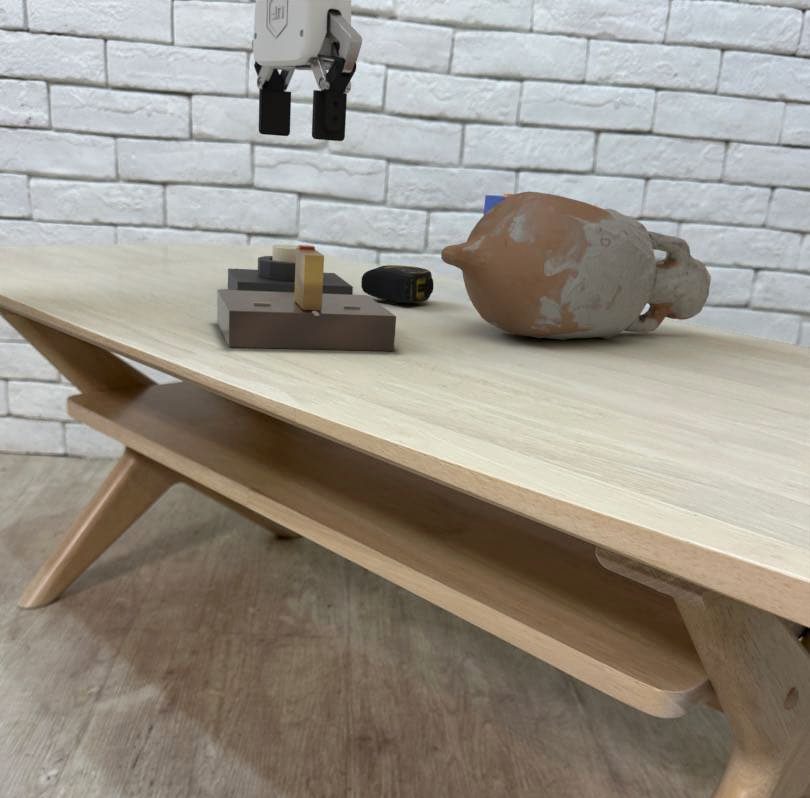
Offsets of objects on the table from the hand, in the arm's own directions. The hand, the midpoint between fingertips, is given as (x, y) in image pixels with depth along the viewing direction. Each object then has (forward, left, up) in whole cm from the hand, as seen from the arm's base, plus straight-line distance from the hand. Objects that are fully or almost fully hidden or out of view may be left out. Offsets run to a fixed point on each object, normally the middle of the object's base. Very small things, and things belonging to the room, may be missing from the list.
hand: (300, 137), depth 93 cm
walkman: (+28, +15, -16) cm, 35 cm away
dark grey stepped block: (+1, +9, -16) cm, 19 cm away
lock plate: (-1, -12, -16) cm, 20 cm away
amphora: (+26, -9, -16) cm, 32 cm away
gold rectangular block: (-1, -14, -13) cm, 20 cm away
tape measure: (+13, +8, -16) cm, 22 cm away
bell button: (+1, +9, -13) cm, 16 cm away
